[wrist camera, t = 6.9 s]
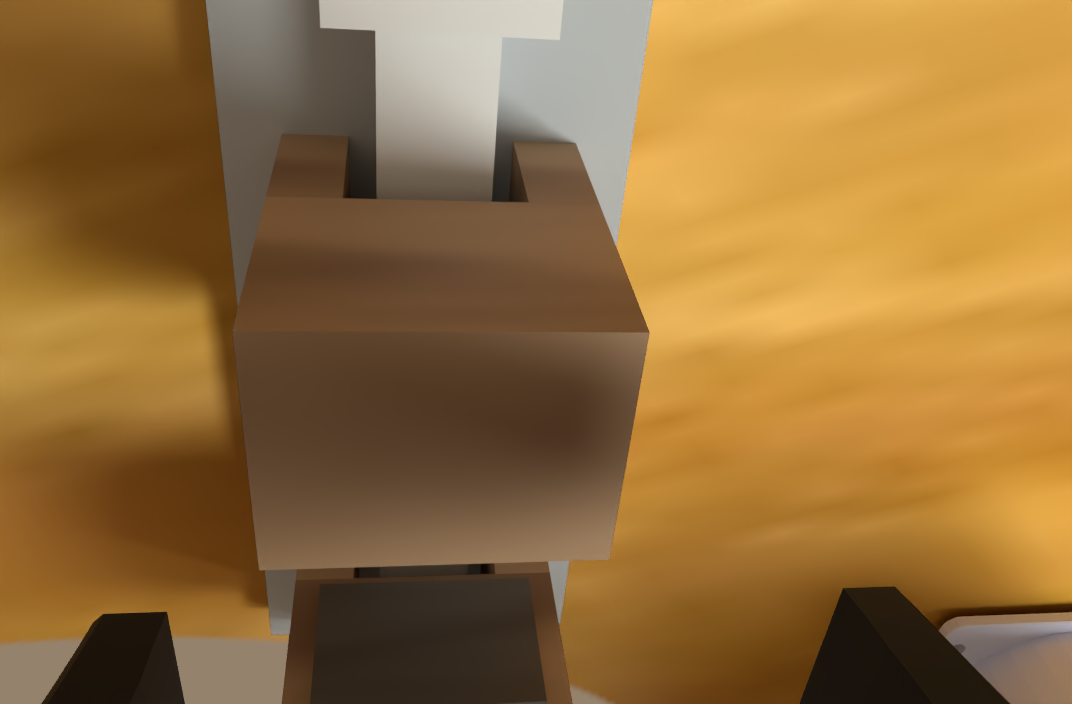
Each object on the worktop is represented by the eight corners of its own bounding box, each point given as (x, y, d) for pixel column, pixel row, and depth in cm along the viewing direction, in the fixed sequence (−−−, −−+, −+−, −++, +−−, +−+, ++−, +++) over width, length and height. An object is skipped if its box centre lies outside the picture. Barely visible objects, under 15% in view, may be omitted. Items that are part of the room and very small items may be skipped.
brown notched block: (553, 346, 19) (607, 574, 14) (296, 346, 19) (260, 585, 14) (575, 143, 17) (648, 332, 12) (281, 134, 16) (232, 330, 11)
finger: (304, 484, 21) (275, 736, 16) (536, 480, 21) (579, 719, 16) (313, 619, 23) (291, 874, 18) (521, 612, 24) (555, 854, 19)
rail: (555, 599, 25) (575, 714, 22) (274, 609, 24) (258, 731, 21) (650, -66, 16) (705, -13, 13) (205, -97, 15) (161, -45, 12)
